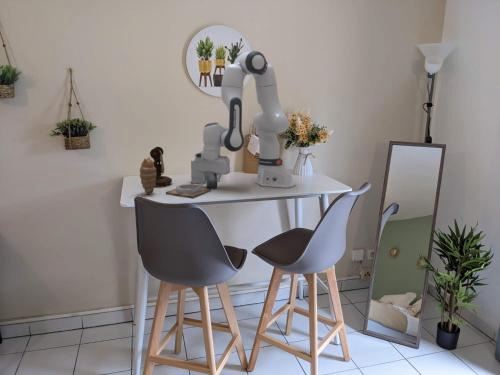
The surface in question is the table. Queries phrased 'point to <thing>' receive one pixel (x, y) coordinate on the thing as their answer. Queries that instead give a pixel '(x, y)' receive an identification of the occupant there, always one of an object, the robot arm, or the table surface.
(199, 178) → the supplement box
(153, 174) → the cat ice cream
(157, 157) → the dark brown tall piece
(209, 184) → the piston
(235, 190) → the table surface
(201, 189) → the ring board
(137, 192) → the table surface
